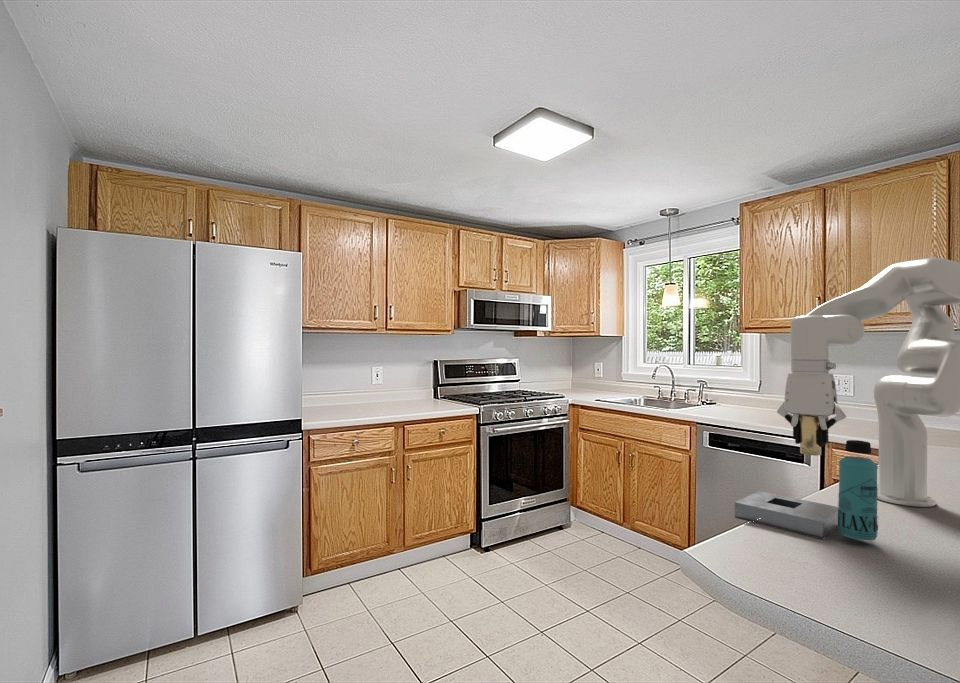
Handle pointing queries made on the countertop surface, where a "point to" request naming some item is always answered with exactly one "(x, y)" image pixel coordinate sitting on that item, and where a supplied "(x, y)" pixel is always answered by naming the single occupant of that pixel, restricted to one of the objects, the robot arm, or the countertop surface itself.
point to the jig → (788, 514)
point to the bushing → (809, 435)
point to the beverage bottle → (858, 493)
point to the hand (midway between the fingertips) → (810, 443)
